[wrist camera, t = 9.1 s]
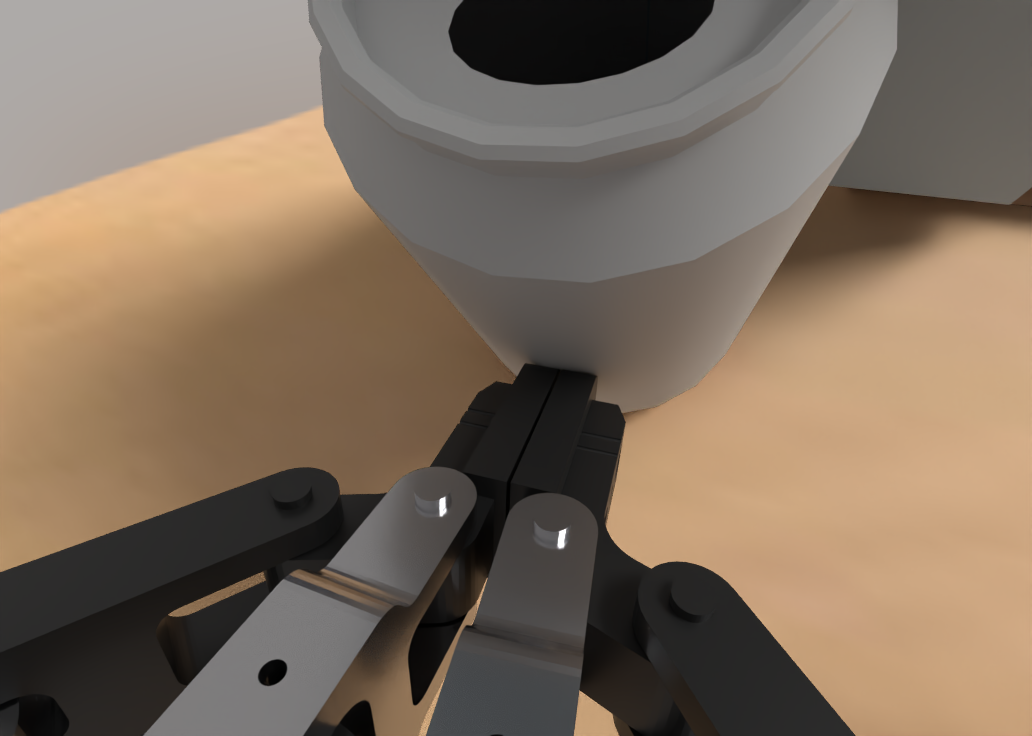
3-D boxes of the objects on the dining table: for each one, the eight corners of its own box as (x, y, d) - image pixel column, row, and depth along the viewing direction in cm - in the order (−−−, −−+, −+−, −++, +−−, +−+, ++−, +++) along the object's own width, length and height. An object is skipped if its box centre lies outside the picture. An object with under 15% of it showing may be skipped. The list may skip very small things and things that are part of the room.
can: (486, 423, 17) (196, 244, 6) (490, 198, 19) (276, -283, 7) (752, 416, 16) (1083, 159, 4) (727, 173, 17) (912, -461, 6)
